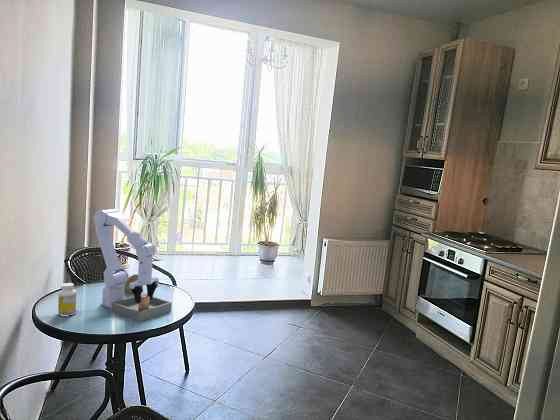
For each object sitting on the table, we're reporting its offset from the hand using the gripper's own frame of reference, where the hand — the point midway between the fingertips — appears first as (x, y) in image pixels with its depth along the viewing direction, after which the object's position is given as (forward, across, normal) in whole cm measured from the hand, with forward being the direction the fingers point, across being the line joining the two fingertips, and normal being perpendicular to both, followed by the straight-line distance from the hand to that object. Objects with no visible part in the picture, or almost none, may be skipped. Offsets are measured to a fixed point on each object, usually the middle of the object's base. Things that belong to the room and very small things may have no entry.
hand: (143, 300), depth 183 cm
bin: (+5, 0, +1) cm, 5 cm away
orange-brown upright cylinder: (+4, 0, 0) cm, 4 cm away
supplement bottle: (+5, -23, +20) cm, 31 cm away
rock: (+5, +14, +25) cm, 29 cm away
